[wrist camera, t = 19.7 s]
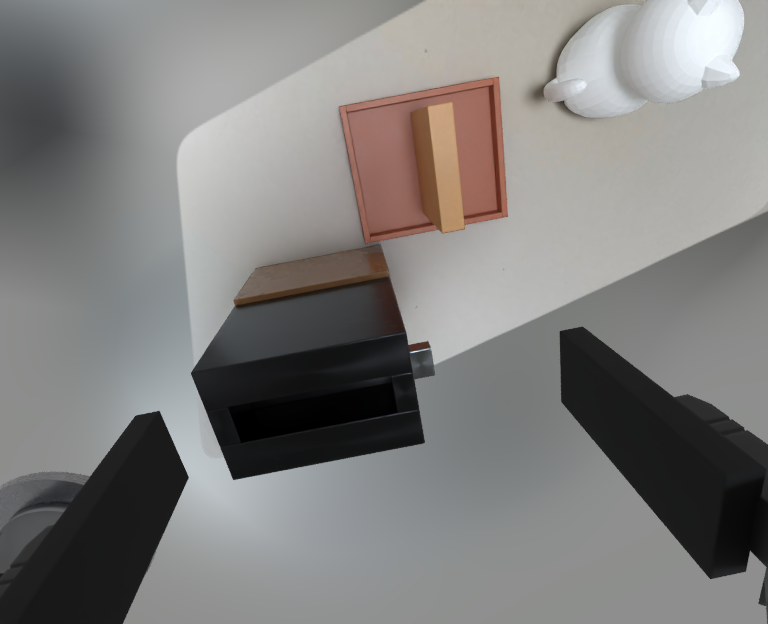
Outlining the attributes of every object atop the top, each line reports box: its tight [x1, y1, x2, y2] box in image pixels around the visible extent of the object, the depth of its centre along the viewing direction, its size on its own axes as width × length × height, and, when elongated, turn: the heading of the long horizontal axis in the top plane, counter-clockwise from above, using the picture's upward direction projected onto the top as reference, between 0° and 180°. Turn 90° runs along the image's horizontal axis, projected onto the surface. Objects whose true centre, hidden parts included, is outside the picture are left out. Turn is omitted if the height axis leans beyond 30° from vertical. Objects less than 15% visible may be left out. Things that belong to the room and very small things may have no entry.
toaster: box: [191, 245, 435, 480], centre depth 40 cm, size 16×10×22 cm, turn 100°
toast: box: [410, 102, 465, 233], centre depth 40 cm, size 10×2×10 cm, turn 9°
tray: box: [339, 77, 508, 243], centre depth 44 cm, size 15×13×2 cm
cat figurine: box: [544, 0, 744, 118], centre depth 36 cm, size 9×12×15 cm
